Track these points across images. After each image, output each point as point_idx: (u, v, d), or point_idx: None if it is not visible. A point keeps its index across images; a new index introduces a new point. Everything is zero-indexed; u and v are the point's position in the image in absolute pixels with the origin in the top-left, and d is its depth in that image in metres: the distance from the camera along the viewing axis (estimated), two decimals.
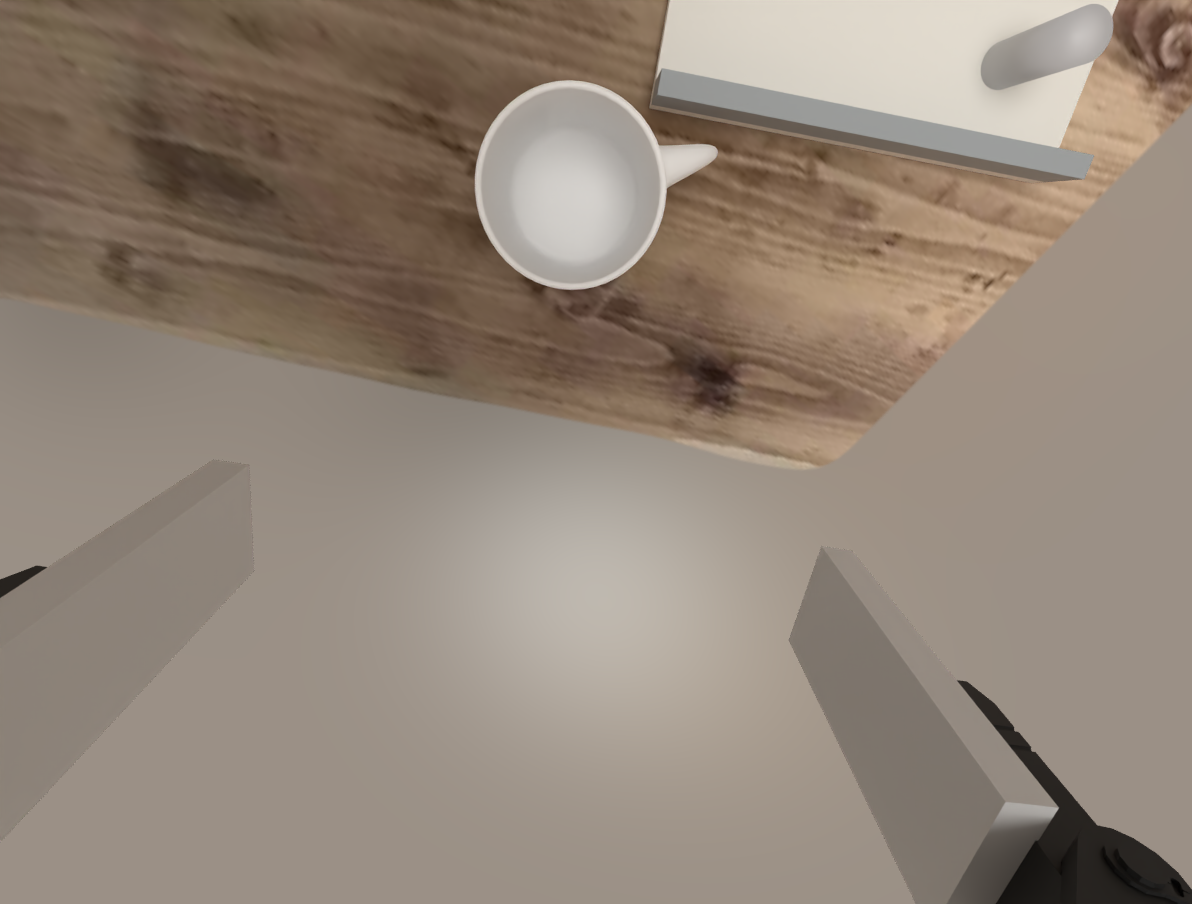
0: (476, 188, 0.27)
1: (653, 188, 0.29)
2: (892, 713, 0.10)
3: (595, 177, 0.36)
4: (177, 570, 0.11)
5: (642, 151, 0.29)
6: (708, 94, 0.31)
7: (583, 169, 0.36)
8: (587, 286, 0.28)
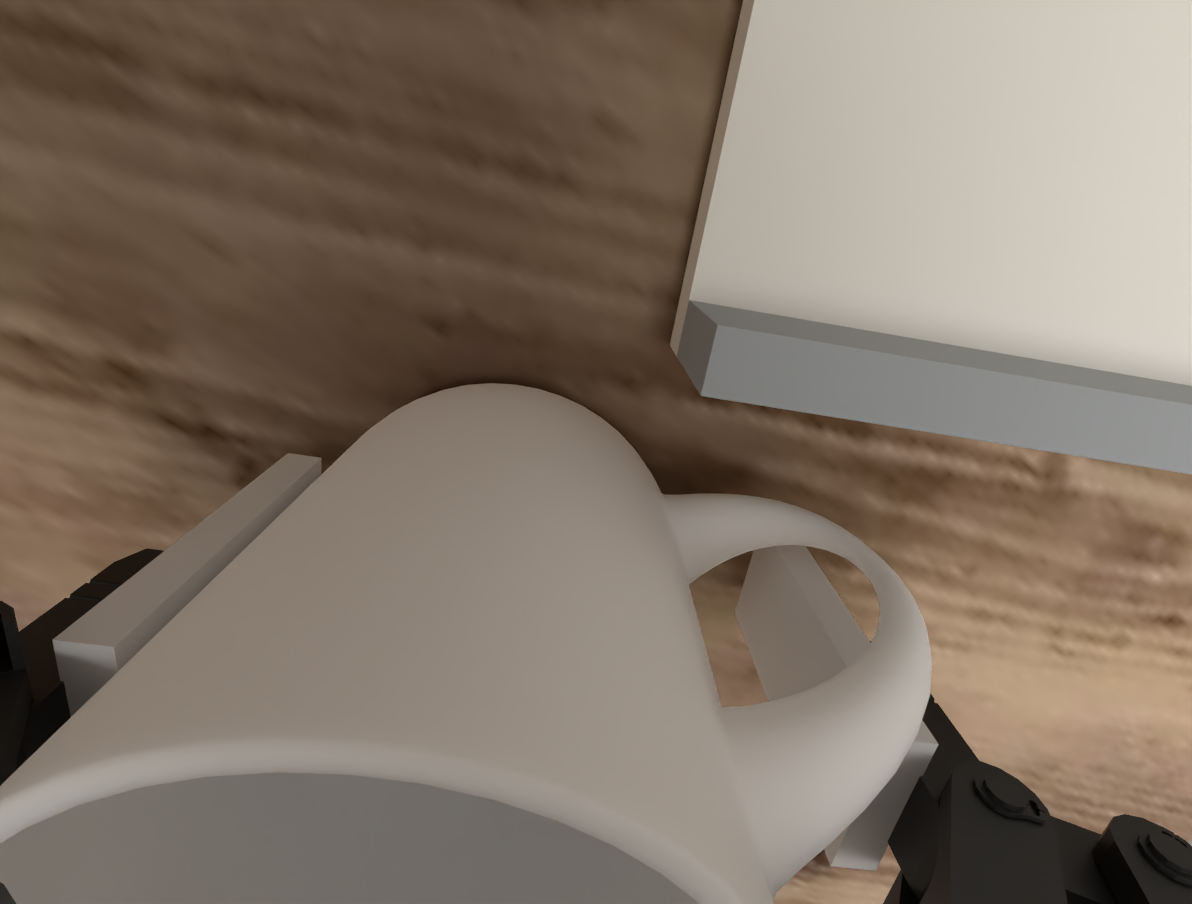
0: None
1: None
2: (810, 670, 0.11)
3: None
4: None
5: None
6: (858, 394, 0.10)
7: None
8: None
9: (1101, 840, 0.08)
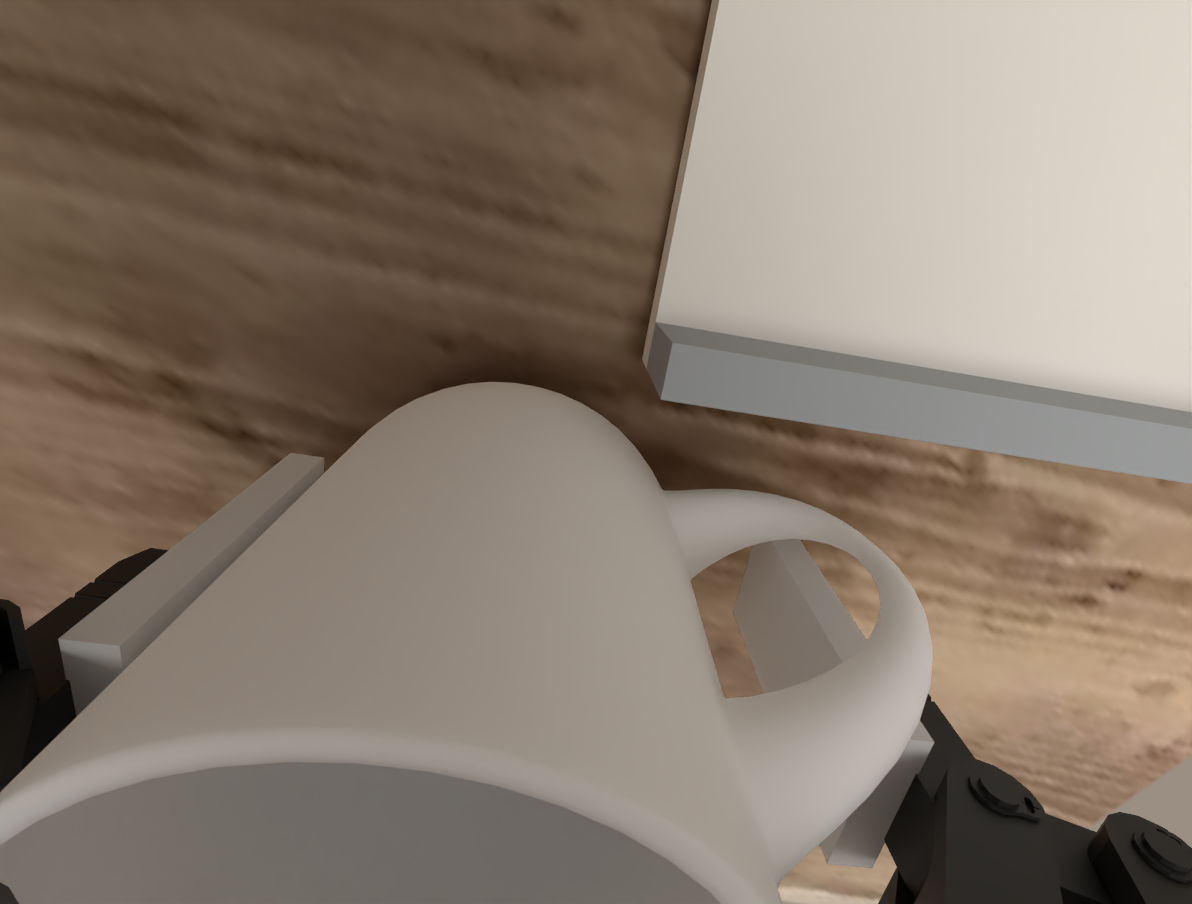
0: None
1: None
2: (807, 669, 0.11)
3: None
4: None
5: None
6: (788, 398, 0.12)
7: None
8: None
9: (1096, 838, 0.08)
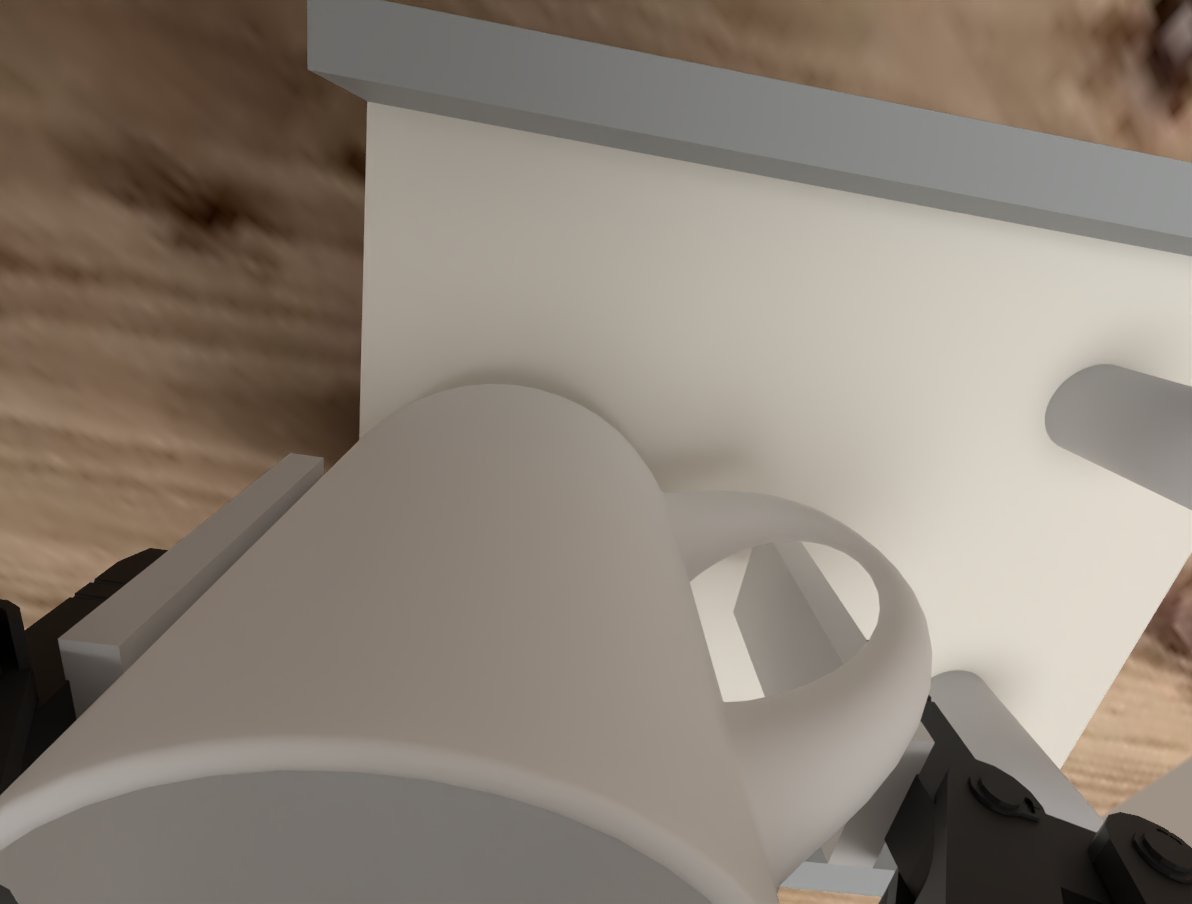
0: None
1: None
2: (807, 669, 0.11)
3: None
4: None
5: None
6: None
7: None
8: None
9: (1097, 838, 0.08)
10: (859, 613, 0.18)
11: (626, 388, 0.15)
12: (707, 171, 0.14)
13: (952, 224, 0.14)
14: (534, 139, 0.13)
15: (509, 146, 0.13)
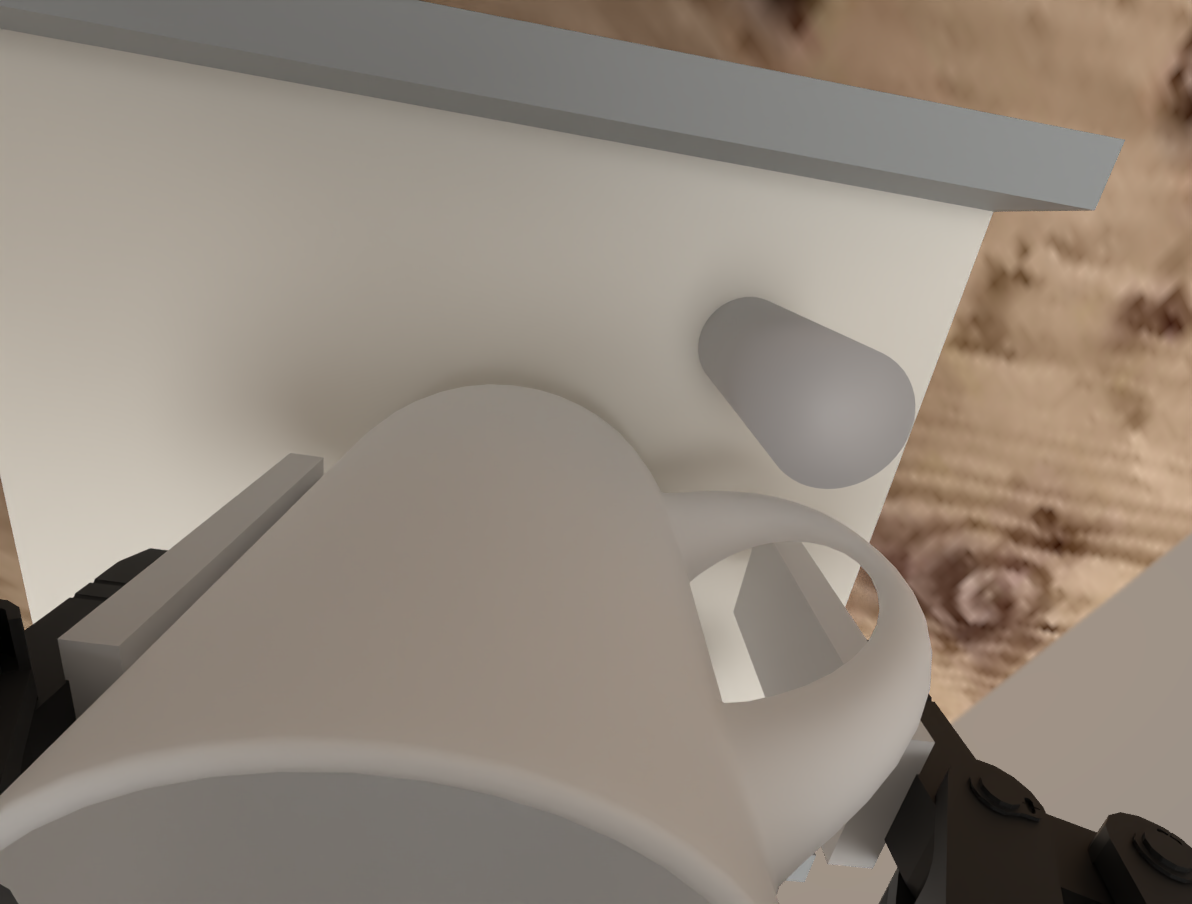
0: None
1: None
2: (807, 669, 0.11)
3: None
4: None
5: None
6: None
7: None
8: None
9: (1097, 838, 0.08)
10: None
11: (248, 324, 0.15)
12: (280, 86, 0.13)
13: (554, 144, 0.13)
14: (87, 51, 0.13)
15: (61, 60, 0.13)
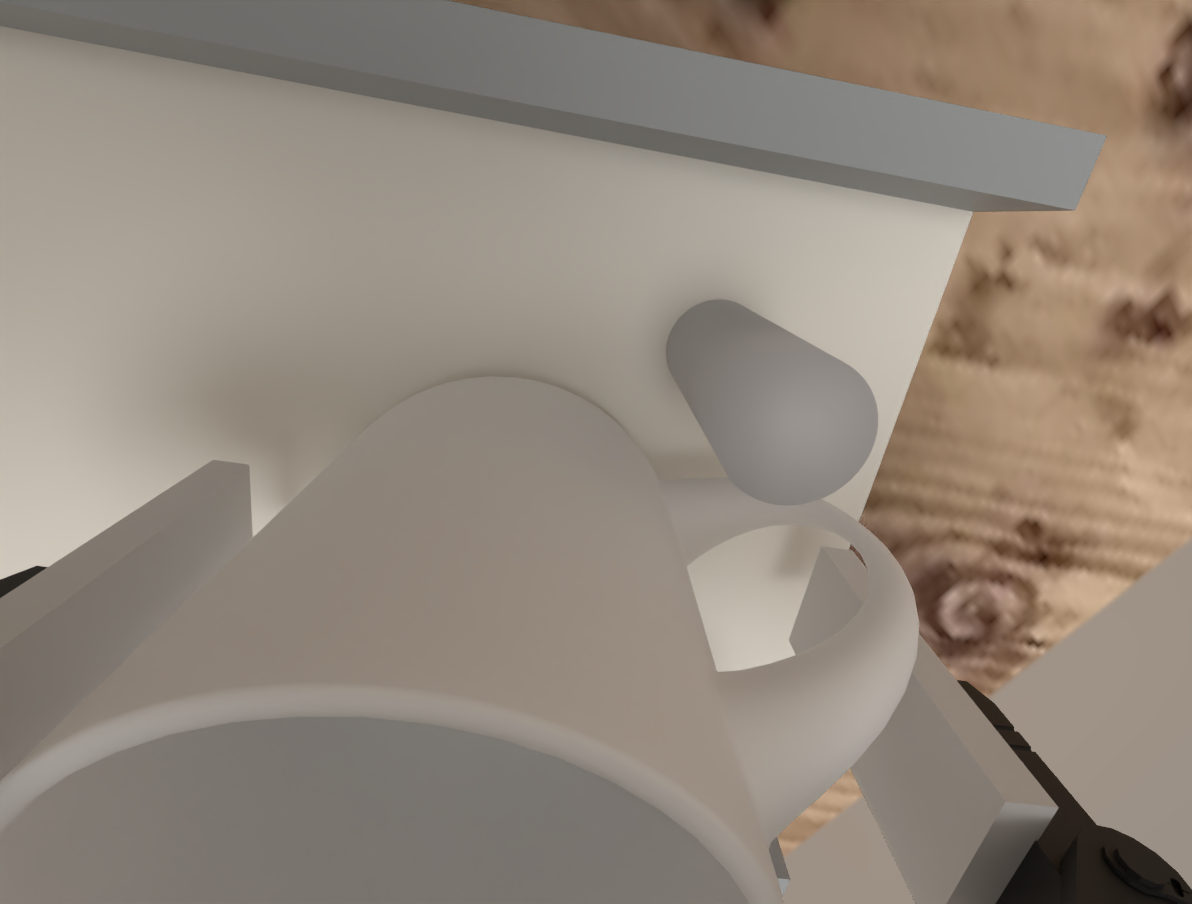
0: None
1: None
2: None
3: None
4: (177, 570, 0.11)
5: None
6: None
7: None
8: None
9: None
10: None
11: (195, 325, 0.14)
12: (222, 75, 0.12)
13: (511, 138, 0.13)
14: (17, 36, 0.12)
15: None
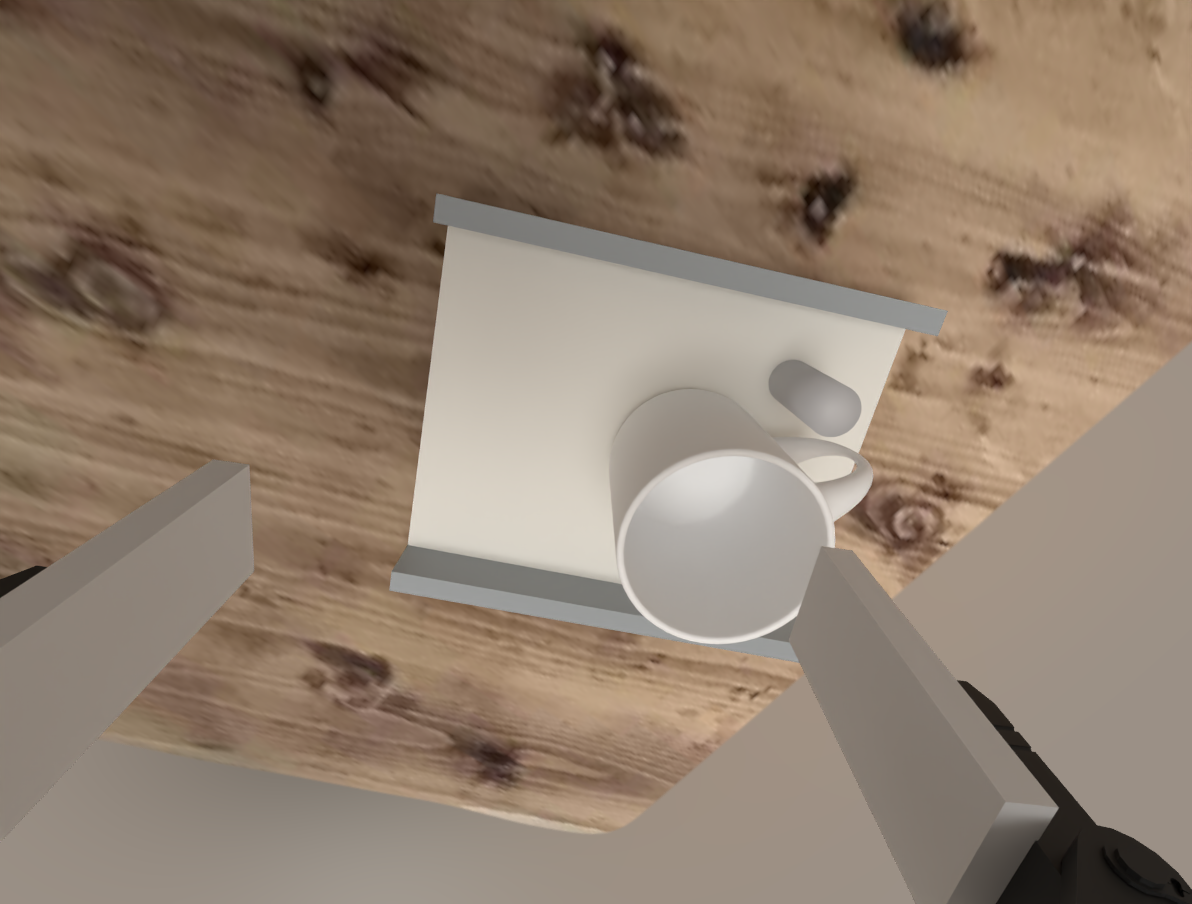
0: (618, 550, 0.23)
1: (804, 519, 0.26)
2: (892, 713, 0.10)
3: None
4: (177, 570, 0.11)
5: (789, 472, 0.26)
6: (438, 591, 0.33)
7: None
8: (735, 641, 0.25)
9: None
10: None
11: (561, 360, 0.32)
12: (599, 261, 0.30)
13: (713, 290, 0.30)
14: (521, 243, 0.30)
15: (509, 246, 0.30)
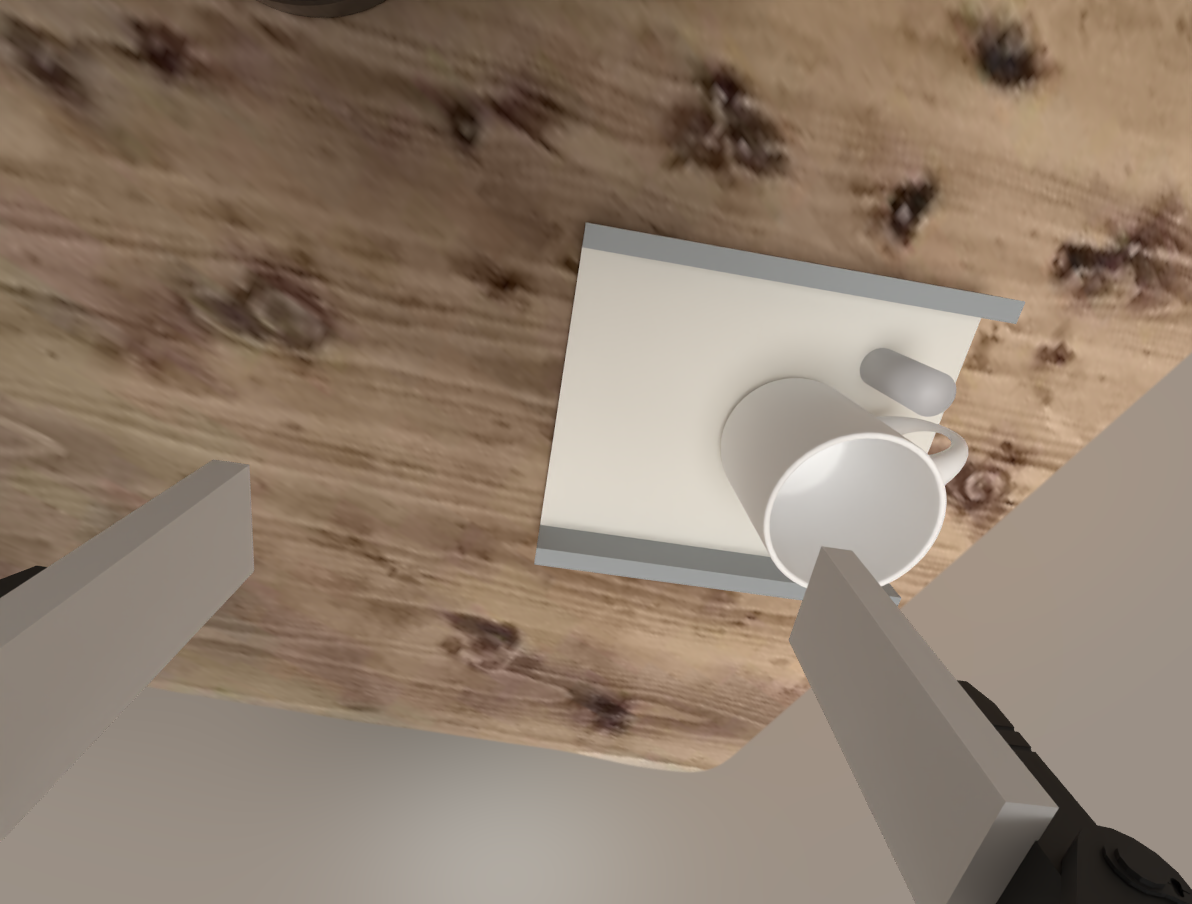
0: (766, 520, 0.28)
1: (911, 487, 0.30)
2: (892, 713, 0.10)
3: None
4: (177, 570, 0.11)
5: (896, 448, 0.31)
6: (576, 563, 0.38)
7: None
8: None
9: None
10: None
11: (678, 357, 0.36)
12: (713, 270, 0.34)
13: (813, 290, 0.35)
14: (645, 258, 0.34)
15: (635, 261, 0.34)
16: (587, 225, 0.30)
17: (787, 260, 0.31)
